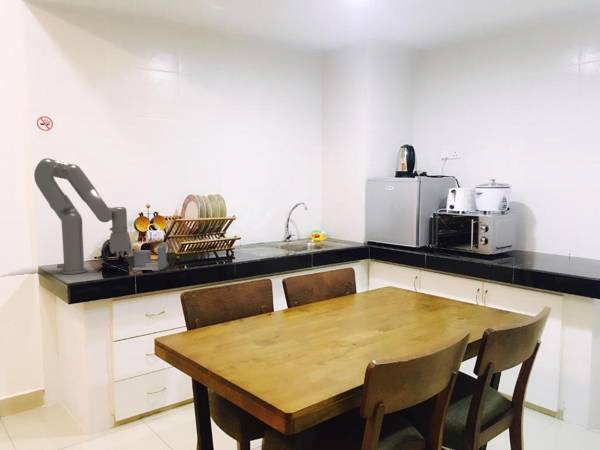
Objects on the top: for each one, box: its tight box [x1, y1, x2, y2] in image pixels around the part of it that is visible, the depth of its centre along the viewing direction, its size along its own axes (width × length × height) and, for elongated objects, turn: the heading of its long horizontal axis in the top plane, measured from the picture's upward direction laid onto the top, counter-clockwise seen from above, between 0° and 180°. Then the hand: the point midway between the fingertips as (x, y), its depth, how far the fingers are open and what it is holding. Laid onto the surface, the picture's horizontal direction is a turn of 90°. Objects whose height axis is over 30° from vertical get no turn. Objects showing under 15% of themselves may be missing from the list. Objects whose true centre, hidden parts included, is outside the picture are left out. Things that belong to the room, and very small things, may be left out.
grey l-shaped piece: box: [131, 244, 168, 272], centre depth 266 cm, size 15×11×12 cm
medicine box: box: [133, 249, 152, 268], centre depth 266 cm, size 8×4×9 cm, turn 89°
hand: (121, 263), depth 267 cm, fingers closed
